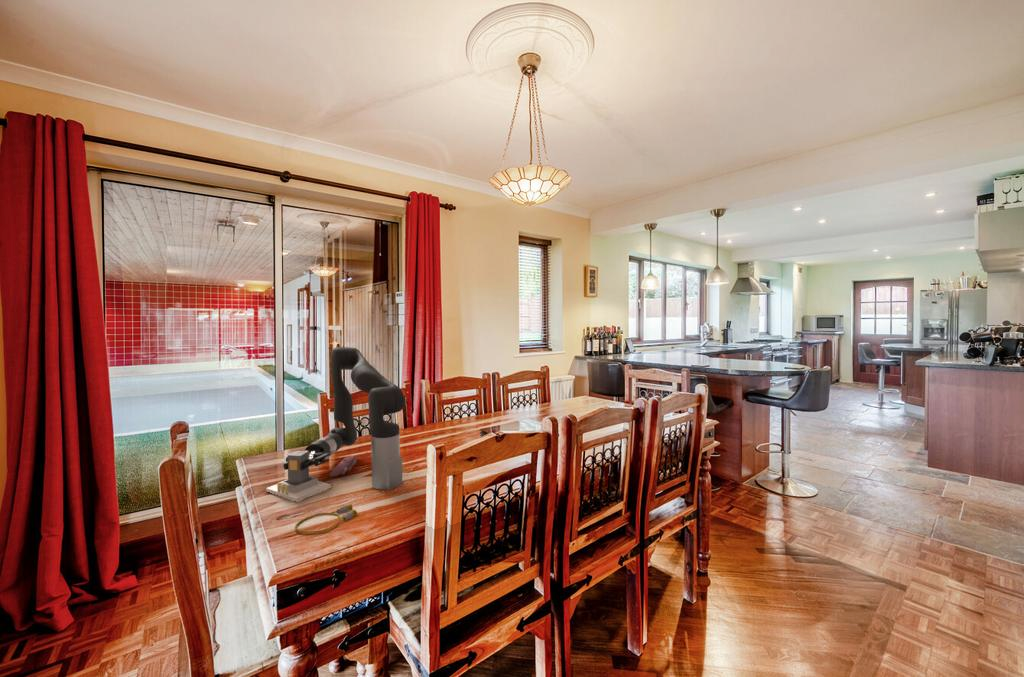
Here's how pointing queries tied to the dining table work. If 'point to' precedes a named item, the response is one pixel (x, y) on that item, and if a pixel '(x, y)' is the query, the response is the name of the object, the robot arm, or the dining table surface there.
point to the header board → (298, 489)
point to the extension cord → (340, 510)
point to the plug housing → (297, 468)
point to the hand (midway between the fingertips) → (293, 467)
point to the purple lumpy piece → (343, 466)
